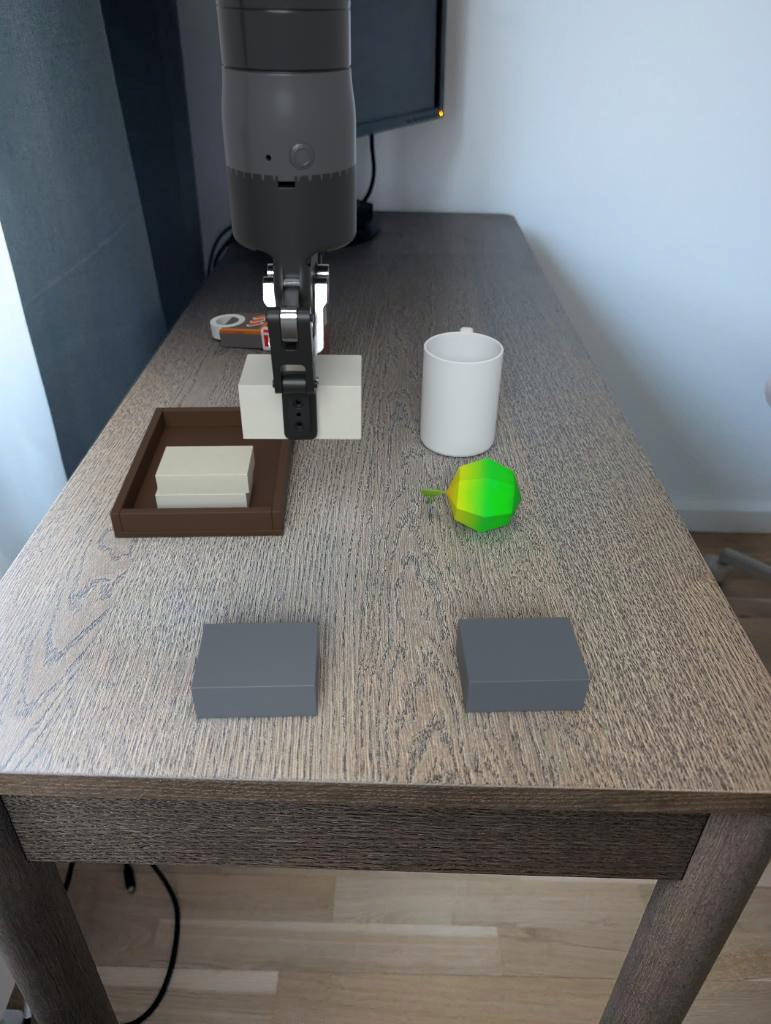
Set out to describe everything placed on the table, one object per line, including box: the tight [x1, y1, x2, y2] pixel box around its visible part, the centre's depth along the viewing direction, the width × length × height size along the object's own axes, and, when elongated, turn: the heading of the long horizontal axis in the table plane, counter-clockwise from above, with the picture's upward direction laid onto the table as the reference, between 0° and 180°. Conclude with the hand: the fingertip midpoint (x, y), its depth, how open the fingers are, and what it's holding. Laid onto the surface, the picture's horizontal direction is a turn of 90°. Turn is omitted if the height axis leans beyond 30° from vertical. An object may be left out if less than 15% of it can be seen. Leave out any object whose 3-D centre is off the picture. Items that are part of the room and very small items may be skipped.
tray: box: [109, 406, 295, 539], centre depth 75 cm, size 15×20×3 cm
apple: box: [420, 457, 523, 534], centre depth 69 cm, size 7×6×9 cm
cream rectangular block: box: [237, 353, 363, 440], centre depth 53 cm, size 8×5×4 cm, turn 91°
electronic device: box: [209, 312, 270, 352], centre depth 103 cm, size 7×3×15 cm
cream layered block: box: [155, 446, 255, 508], centre depth 71 cm, size 8×5×4 cm, turn 92°
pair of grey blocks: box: [190, 616, 591, 719], centre depth 54 cm, size 26×6×3 cm, turn 92°
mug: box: [419, 326, 505, 458], centre depth 81 cm, size 12×8×10 cm, turn 172°
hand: (304, 416), depth 54 cm, fingers closed on cream rectangular block, 5 cm apart
